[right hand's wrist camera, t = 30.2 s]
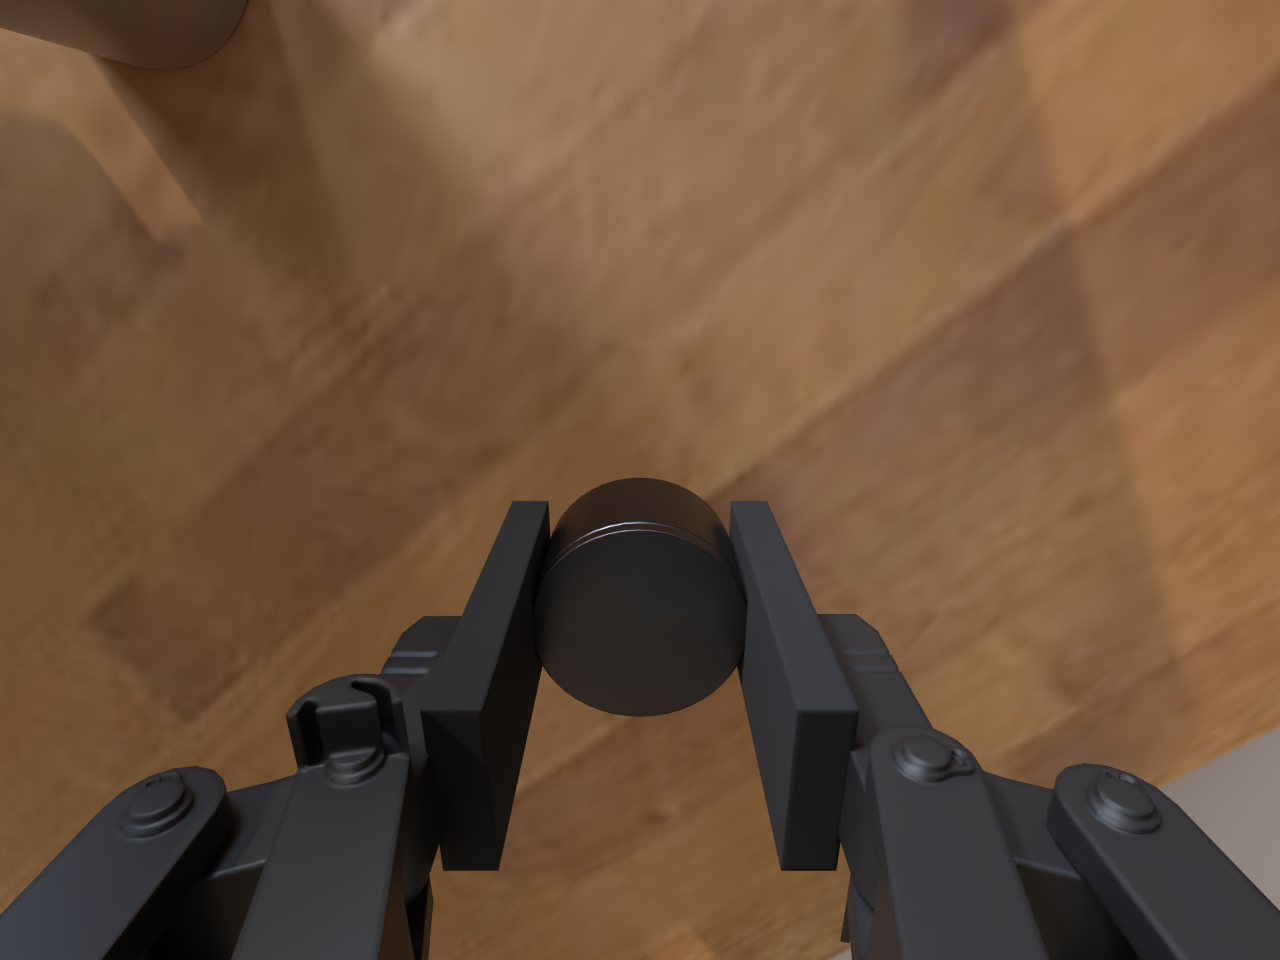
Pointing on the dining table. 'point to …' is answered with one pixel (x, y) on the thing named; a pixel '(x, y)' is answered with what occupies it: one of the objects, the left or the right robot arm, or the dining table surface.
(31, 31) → the bottle
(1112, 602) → the dining table surface
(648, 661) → the cap
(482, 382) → the dining table surface
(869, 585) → the dining table surface
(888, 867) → the right robot arm
